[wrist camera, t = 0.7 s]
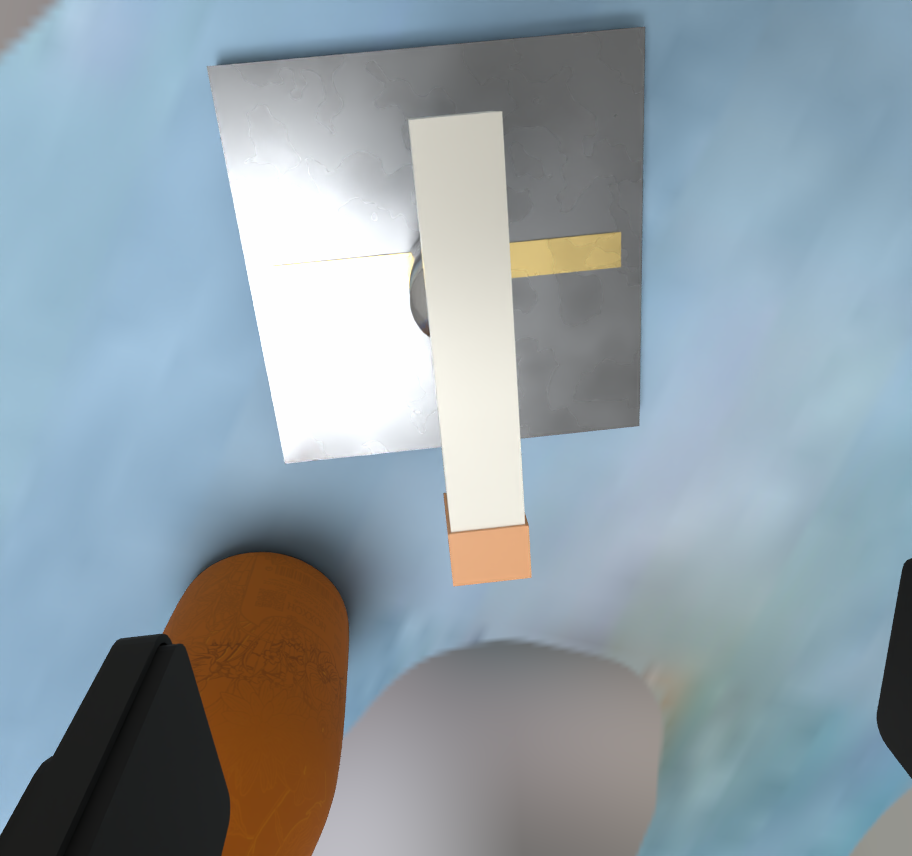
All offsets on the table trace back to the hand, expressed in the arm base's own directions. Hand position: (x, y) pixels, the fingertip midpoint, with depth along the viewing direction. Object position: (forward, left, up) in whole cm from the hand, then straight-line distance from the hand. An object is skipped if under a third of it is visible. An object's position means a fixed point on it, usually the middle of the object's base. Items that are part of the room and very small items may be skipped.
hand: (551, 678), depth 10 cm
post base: (0, 0, -28) cm, 28 cm away
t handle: (0, 0, -20) cm, 20 cm away
